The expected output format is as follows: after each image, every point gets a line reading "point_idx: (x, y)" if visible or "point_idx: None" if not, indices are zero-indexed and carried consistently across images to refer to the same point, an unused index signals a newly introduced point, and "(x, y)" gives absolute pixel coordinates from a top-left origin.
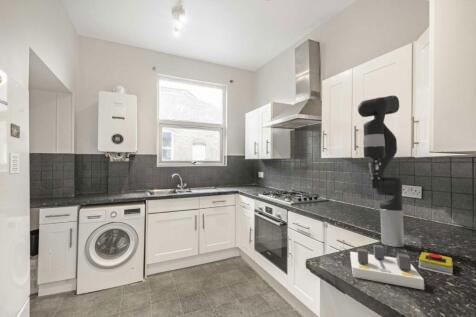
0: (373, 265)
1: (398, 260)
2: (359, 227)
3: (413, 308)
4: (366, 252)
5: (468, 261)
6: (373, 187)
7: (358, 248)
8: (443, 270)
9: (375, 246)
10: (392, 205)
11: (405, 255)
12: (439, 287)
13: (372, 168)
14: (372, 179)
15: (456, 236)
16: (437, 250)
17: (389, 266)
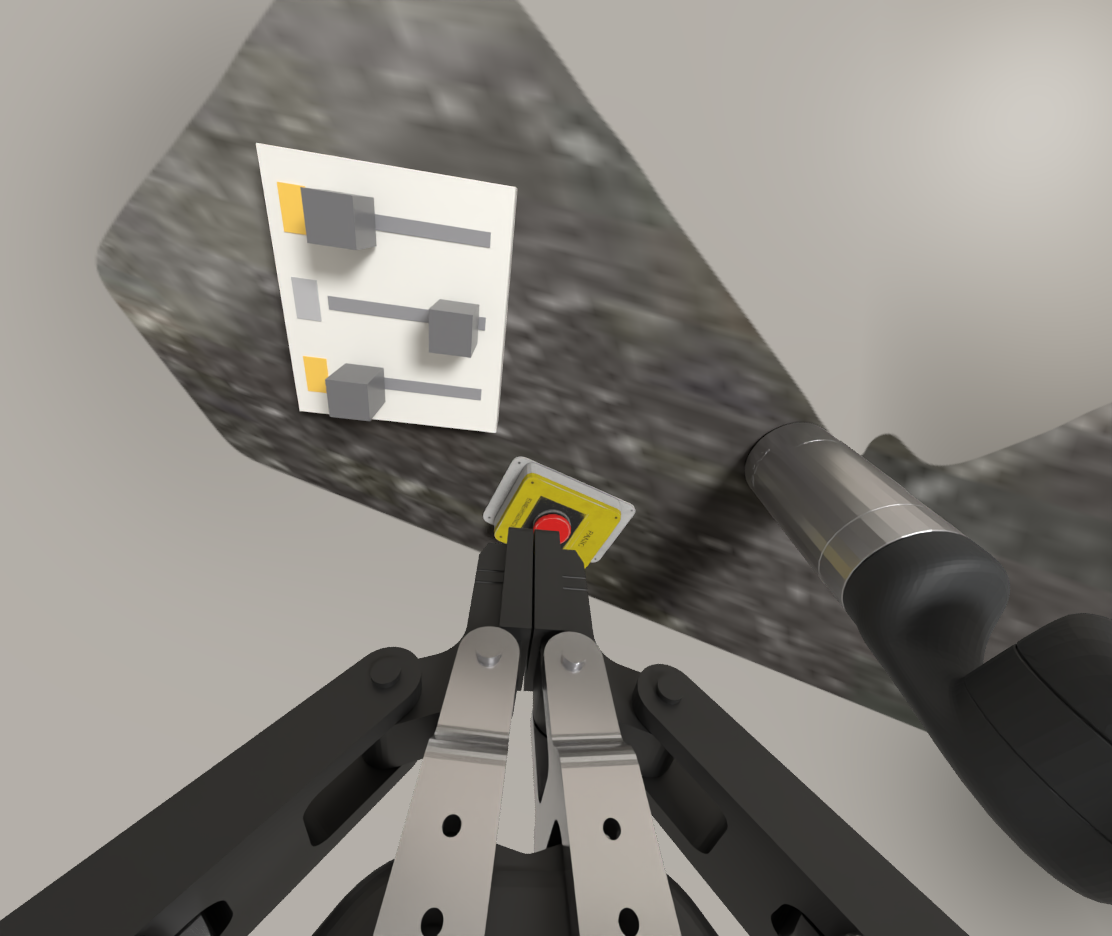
0: (347, 265)
1: (350, 373)
2: None
3: (145, 313)
4: (308, 235)
5: (626, 605)
6: (508, 535)
7: (347, 201)
8: (499, 511)
9: (438, 316)
10: (870, 600)
11: (354, 409)
12: (362, 447)
13: (357, 915)
14: (498, 623)
15: (892, 686)
16: (723, 577)
17: (372, 334)
